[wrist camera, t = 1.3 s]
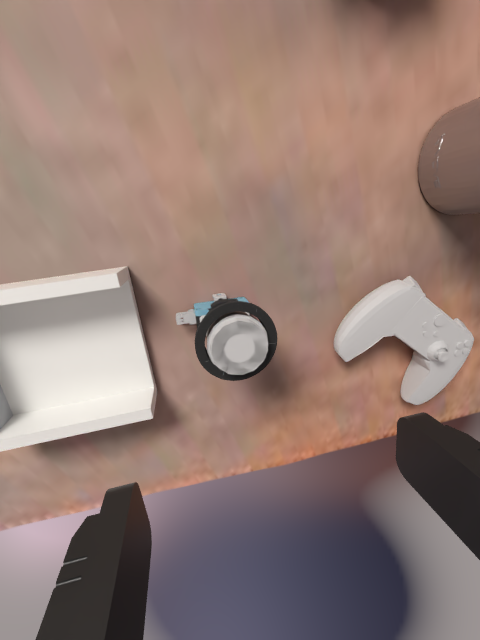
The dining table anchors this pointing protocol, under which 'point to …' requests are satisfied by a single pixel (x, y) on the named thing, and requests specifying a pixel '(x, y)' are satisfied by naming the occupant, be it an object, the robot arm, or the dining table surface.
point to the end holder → (71, 357)
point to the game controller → (407, 336)
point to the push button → (231, 336)
